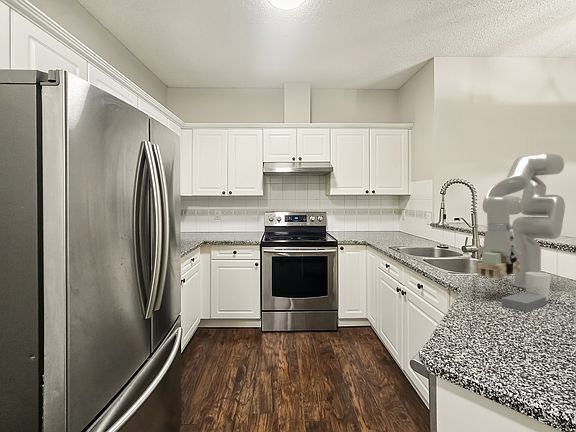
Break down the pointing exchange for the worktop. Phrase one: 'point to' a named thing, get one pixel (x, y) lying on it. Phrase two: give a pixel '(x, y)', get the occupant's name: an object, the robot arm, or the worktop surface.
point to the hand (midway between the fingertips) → (498, 271)
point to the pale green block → (491, 258)
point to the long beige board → (497, 269)
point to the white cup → (538, 284)
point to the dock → (524, 301)
